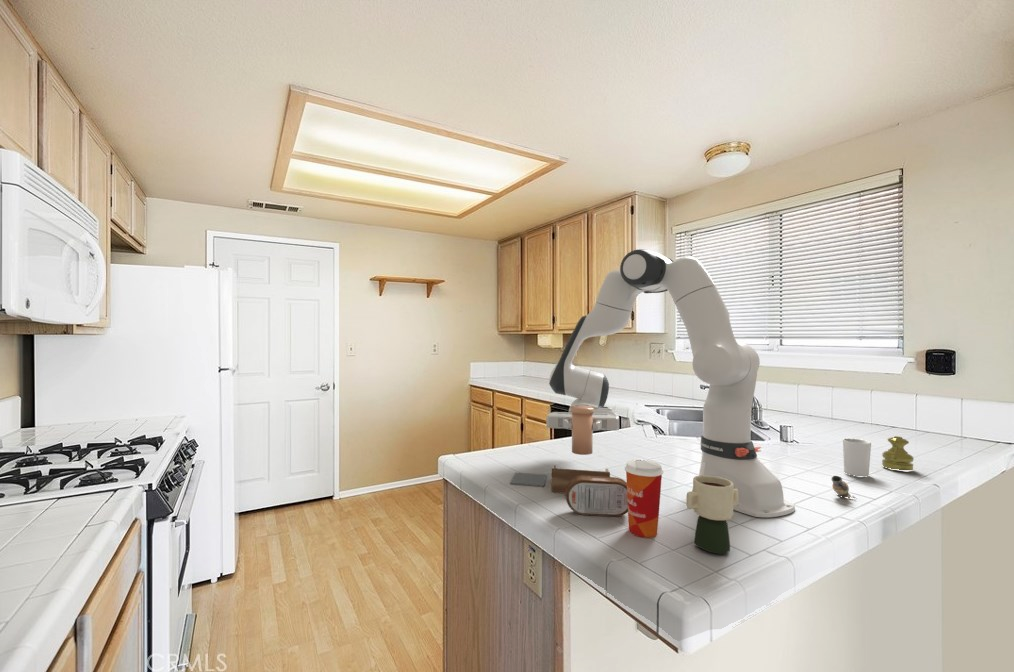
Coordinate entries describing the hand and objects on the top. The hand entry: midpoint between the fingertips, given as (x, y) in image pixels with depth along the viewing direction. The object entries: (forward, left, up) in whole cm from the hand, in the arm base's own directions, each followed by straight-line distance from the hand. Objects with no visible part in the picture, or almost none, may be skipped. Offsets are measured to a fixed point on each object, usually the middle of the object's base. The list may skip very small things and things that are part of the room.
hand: (582, 426), depth 121 cm
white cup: (-24, -80, -16) cm, 85 cm away
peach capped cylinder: (+1, -1, -7) cm, 7 cm away
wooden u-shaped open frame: (-2, +2, -16) cm, 16 cm away
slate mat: (+9, +11, -16) cm, 21 cm away
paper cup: (-29, +5, -16) cm, 33 cm away
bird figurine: (-34, -54, -16) cm, 66 cm away
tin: (-18, +8, -16) cm, 25 cm away
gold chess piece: (-26, -98, -16) cm, 103 cm away
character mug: (-40, -2, -16) cm, 43 cm away
